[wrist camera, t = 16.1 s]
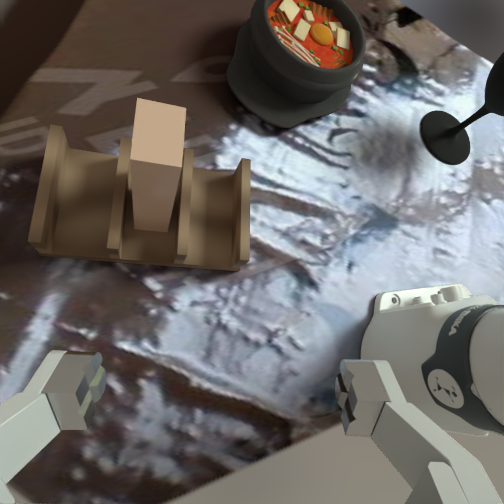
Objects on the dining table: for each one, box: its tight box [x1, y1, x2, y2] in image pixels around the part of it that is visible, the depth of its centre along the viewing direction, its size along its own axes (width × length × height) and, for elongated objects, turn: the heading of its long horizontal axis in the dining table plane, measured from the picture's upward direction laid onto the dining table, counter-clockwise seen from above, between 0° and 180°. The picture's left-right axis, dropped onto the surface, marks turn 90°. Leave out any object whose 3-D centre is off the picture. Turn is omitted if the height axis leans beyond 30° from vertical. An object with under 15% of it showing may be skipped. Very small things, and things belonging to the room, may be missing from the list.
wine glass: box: [421, 52, 504, 165], centre depth 49 cm, size 10×10×20 cm
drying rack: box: [28, 125, 251, 271], centre depth 37 cm, size 12×21×6 cm, turn 91°
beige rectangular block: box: [130, 98, 186, 232], centre depth 31 cm, size 5×4×15 cm
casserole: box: [226, 0, 366, 128], centre depth 48 cm, size 25×19×8 cm
